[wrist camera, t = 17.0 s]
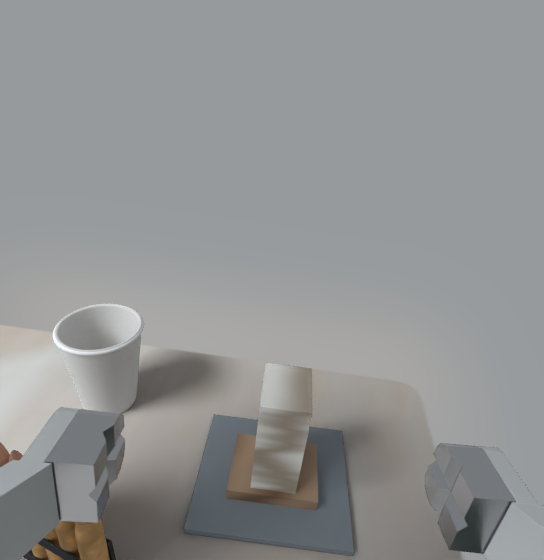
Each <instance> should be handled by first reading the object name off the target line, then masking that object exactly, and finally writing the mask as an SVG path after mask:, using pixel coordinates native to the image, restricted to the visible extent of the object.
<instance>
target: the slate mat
mask: <svg viewBox="0 0 544 560" xmlns="http://www.w3.org/2000/svg"><path fill="white" fill-rule="evenodd" d="M257 426H258V420H253V419H245V418H238V417H230V416H222V415H215V414H214V416H213V420H212V424H211V427H210V431H209V435H208V439H207V442H206V446H205V450H204V454H203V457H202V461H201V465H200V469H199V473H198V476H197V480H196V484H195V488H194V491H193V495H192V499H191V503H190V507H189V510H188V514H187V518H186V522H185V525H184V533H188V534H195V535H202V536H210V537H217V538H225V539H232V540H239V541H247V542H254V543H261V544H269V545H276V546H283V547H291V548H298V549H305V550H313V551H320V552H327V553H335V554H342V555H349V556H353V554H354V547H353V537H352V527H351V517H350V507H349V497H348V487H347V477H346V467H345V457H344V447H343V437H342V431H338V430H330V429H322V428H315V427H309V432H308V437H307V441H306V442H307V443H315V444H317V474H318V506H317V509H316V510H309V509H301V508H294V507H286V506H279V505H272V504H264V503H257V502H249V501H242V500H235V499H227V498H226V494H227V486H228V481H229V476H230V470H231V465H232V460H233V454H234V449H235V444H236V438H237V433H239V434H247V435H254V436H256V434H257Z"/></svg>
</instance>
